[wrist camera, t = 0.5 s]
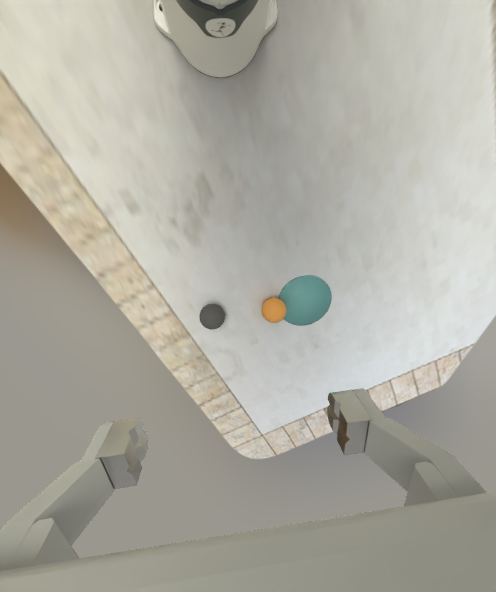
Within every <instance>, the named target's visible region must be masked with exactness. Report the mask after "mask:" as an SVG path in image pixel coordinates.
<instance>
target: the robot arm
mask: <svg viewBox="0 0 496 592" xmlns="http://www.w3.org/2000/svg"><path fill="white" fill-rule="evenodd" d="M161 7H162V10H163V11H160V8H161ZM153 9H154V20H155V24H156V26H157V28H158V29H159V30H160V31H161V32H162V33H163V34H164V35H166V36H167V37H168V38H170V39H171V40H173V41H174V43H175V44H176V45H177V47H178V48H179V50H180V51H181V53H182V54H183V56H184V57H185V58H186V59H187V61H188V62H189V63H190V64H191V65H192V66H193V67H195V68H196V69H197V70H199V71H200V72H202V73H204V74H206V75H209V76H213V77H227V76H231V75H234V74H236V73H238V72H239V71H241V70H242V69H243V68H245V67H246V66H247V65H248V64H249V62H250V61H251V60H252V58H253V57H254V55H255V53H256V51H257V49H258V47H259V44H260V42H261V40H262V39H263V37H264V36H265V35H266V34H267V33H268V32H269V31H270V30H271V29H272V28H273V27H274V26H275V24H276V22H277V17H278V10H277V3H276V0H153ZM328 401H329V403H330V405H329V406H328V407H327V414H328V420H329V423H330V426H331V428H332V430H333V431H334V432H335V433H337V441H338V443H339V445H340V447H341V450H342V452H343V454H344V455H348V454H358V453H365V455H366V456H367V457H369V458H370V459H371V460H372V461H373V462H374V463H375V464H377V465H378V466H379V467H380V468H381V469H382V470H384V471H385V472H386V473H387V474H388V475H389V476H390V477H391V478H392V479H394V480H395V481H396V482H397V483H398V484H399V485H400V486H402V487H403V488H404V489H405V490H406V491H407V492H408V493H407V496H406V500H405V503H404V506H403V507H396V508H391V509H384V510H378V511H372V512H365V513H359V514H353V515H347V516H341V517H334V518H328V519H322V520H315V521H309V522H303V523H297V524H290V525H284V526H278V527H272V528H266V529H260V530H253V531H247V532H241V533H234V534H228V535H222V536H216V537H210V538H204V539H198V540H191V541H185V542H179V543H172V544H167V545H160V546H154V547H148V548H142V549H135V550H129V551H123V552H117V553H110V554H104V555H98V556H92V557H86V558H79V557H78V555H77V554H76V552H75V551H74V549H73V548H72V546H71V545H72V544H73V543H74V542H75V540H76V539H77V538H78V536H79V535H80V534H81V533H82V531H83V530H84V529H85V528H86V526H87V525H88V524H89V522H90V521H91V520H92V519H93V517H94V516H95V515H96V514H97V512H98V511H99V510H100V509H101V507H102V506H103V505H104V503H105V502H106V501H107V500H108V498H109V497H110V496H111V494H112V493H113V492H114V489H119V488H125V487H130V486H136V485H137V483H138V479H139V476H140V473H141V470H142V466H141V463H140V462H141V461H142V460H143V459H144V457H145V456H146V453H147V448H148V437H147V433H146V431H144V430H143V429H142V428H143V421H142V419H141V418H137V419H127V420H119V421H110V422H103V423H102V424H101V425H100V426H99V428H98V430H97V432H96V434H95V436H94V437H93V439H92V441H91V443H90V445H89V447H88V449H87V450H86V452H85V454H84V456H83V458H82V460H81V461H77V462H76V463H75V464H74V465H72V466H71V467H70V468H69V469H68V470H67V471H65V472H64V473H63V474H62V475H61V476H60V477H59V478H58V479H56V480H55V481H54V482H53V483H52V484H51V485H49V486H48V487H47V488H46V489H45V490H44V491H43V492H42V493H40V494H39V495H38V496H37V497H36V498H35V499H33V500H32V501H31V502H30V503H29V504H28V505H27V506H25V507H24V508H23V509H22V510H21V511H20V512H18V513H17V514H16V515H15V516H14V517H13V518H12V519H10V520H9V521H8V522H7V523H6V524H5V526H4V527H3V529H2V530H1V532H0V592H496V492H490V493H487V492H486V491H485V490H484V489H483V488H482V487H481V485H480V484H479V483H478V482H477V481H476V480H475V479H474V478H473V476H472V475H471V474H470V473H469V472H468V471H467V470H466V468H465V467H464V466H463V465H462V464H461V463H460V462H459V461H458V459H457V458H456V457H455V456H453V455H451V454H450V453H448V452H447V451H445V450H443V449H441V448H440V447H438V446H436V445H435V444H433V443H431V442H429V441H428V440H426V439H424V438H423V437H421V436H419V435H418V434H416V433H414V432H412V431H411V430H409V429H407V428H406V427H404V426H402V425H400V424H399V423H397V422H395V421H393V420H392V419H390V418H385V417H384V415H383V414H382V412H381V411H380V410H379V408H378V407H377V406H376V404H375V403H374V401H373V400H372V399H371V397H370V396H369V395H368V393H367V392H366V391H365V390H364V389H363V388H362V389H354V390H347V391H340V392H333V393H329V395H328Z"/></svg>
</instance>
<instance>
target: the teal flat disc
mask: <svg viewBox="0 0 496 592" xmlns="http://www.w3.org/2000/svg"><path fill="white" fill-rule="evenodd" d="M279 299H280V300H282V301H283V302H284V304H285V306H286V315H285V317H284V319H285V320H286V321H288V322H289V323H291V324H294V325H308V324H312V323H314V322H316V321H318V320H319V319H321V318H322V317H323V316H324V315H325V313H326V312H327V311H328V309H329V307H330V304H331V291H330V288H329V286H328V285H327V284H326V283H325V282H324V281H323V280H322V279H320V278H318V277H315V276H301V277H298V278H295V279H293V280H292V281H290V282H289V283H288V284H287V285H286V286H285V287H284V288H283V289H282V291H281V293H280V295H279Z"/></svg>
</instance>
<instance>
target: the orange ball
mask: <svg viewBox="0 0 496 592" xmlns="http://www.w3.org/2000/svg"><path fill="white" fill-rule="evenodd" d="M262 315H263V317H264V318H265V319H266V320H267V321H269V322H279V321H281V320H282V319H283V318H284V317H285V315H286V306H285V304H284V302H283V301H282V300H280V299H278V298H270V299H268V300H266V301H265V302H264V304H263V306H262Z"/></svg>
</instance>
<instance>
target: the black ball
mask: <svg viewBox="0 0 496 592" xmlns="http://www.w3.org/2000/svg"><path fill="white" fill-rule="evenodd" d="M224 319H225V314H224V311H223V309H222V308H221V307H220V306H218V305H215V304H209V305H207V306H205V307H204V308H203V309H202V310H201V312H200V321H201V323H202V325H203V326H204V327H206V328H208V329H216V328H218V327H220V326H221V325H222V324H223V322H224Z"/></svg>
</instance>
